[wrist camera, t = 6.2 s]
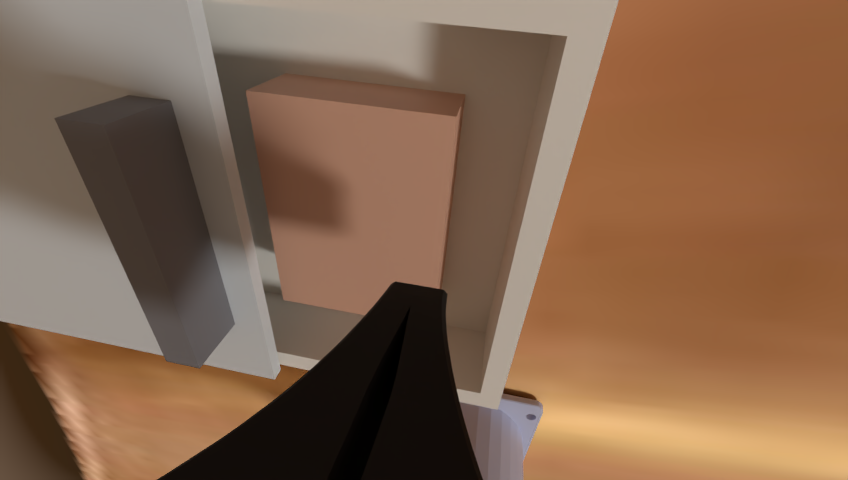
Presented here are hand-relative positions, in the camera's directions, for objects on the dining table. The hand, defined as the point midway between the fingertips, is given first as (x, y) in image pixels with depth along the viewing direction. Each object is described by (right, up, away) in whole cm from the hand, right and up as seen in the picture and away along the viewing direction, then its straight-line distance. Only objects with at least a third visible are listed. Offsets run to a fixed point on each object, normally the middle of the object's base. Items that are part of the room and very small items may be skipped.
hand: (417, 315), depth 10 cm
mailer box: (-4, +5, +6) cm, 9 cm away
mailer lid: (-14, +4, +4) cm, 15 cm away
